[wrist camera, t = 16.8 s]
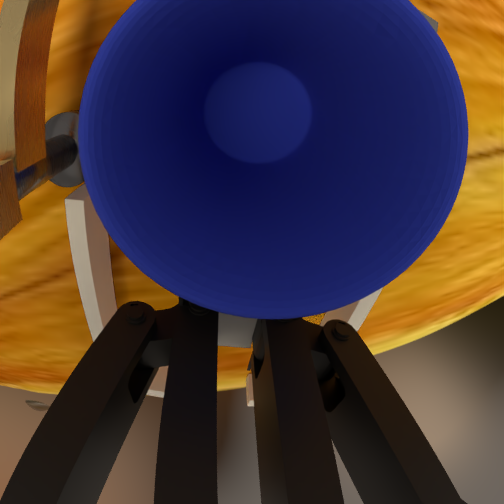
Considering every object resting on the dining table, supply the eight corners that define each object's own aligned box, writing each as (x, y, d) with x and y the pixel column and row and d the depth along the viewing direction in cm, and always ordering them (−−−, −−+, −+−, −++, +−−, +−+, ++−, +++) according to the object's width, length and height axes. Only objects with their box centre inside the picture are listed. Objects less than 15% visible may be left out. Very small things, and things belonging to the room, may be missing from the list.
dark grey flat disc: (47, 179, 14) (39, 185, 13) (46, 112, 11) (37, 114, 10) (103, 183, 14) (96, 189, 13) (107, 109, 12) (99, 111, 11)
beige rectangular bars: (117, 362, 23) (108, 392, 20) (90, 130, 12) (55, 144, 9) (299, 381, 26) (305, 411, 23) (397, 183, 15) (429, 207, 12)
